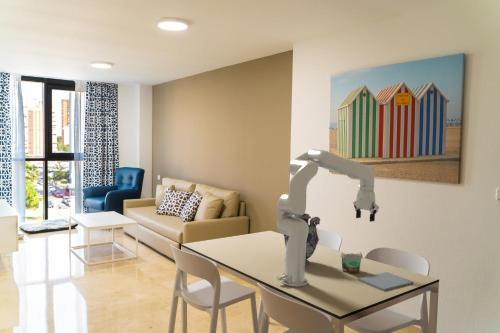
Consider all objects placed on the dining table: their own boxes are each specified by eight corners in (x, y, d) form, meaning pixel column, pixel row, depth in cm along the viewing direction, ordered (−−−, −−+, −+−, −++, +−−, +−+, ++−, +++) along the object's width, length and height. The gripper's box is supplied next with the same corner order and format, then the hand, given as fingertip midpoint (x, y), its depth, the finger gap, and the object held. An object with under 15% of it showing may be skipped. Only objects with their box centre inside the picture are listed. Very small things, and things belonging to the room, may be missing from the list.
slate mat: (383, 291, 189) (383, 288, 189) (357, 280, 202) (357, 278, 202) (413, 283, 200) (413, 281, 200) (386, 273, 214) (387, 272, 214)
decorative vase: (275, 263, 225) (278, 213, 224) (288, 255, 242) (291, 209, 240) (312, 270, 215) (315, 218, 214) (322, 262, 232) (325, 214, 230)
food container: (345, 275, 210) (346, 256, 209) (339, 271, 216) (340, 252, 215) (366, 273, 213) (367, 255, 212) (360, 270, 219) (361, 251, 218)
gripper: (349, 186, 223) (348, 217, 224) (374, 190, 209) (372, 223, 210) (359, 186, 227) (357, 216, 228) (384, 190, 213) (382, 222, 214)
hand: (365, 219), depth 219 cm, fingers open, 9 cm apart
